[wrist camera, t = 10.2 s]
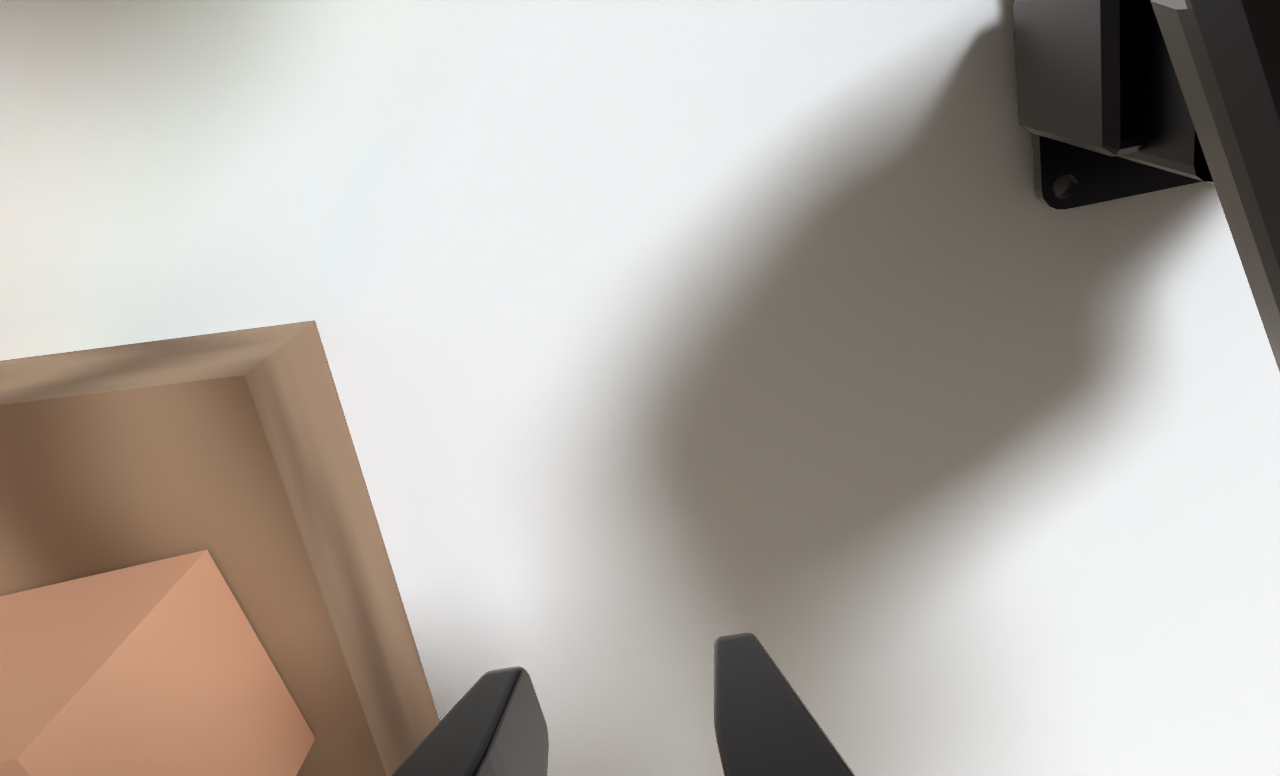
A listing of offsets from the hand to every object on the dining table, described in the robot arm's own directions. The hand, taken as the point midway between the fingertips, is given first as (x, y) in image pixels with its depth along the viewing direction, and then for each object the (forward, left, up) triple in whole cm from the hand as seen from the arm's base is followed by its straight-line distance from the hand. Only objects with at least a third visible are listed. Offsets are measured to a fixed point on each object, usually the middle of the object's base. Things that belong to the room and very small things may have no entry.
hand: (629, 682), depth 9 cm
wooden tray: (+14, +5, -13) cm, 20 cm away
